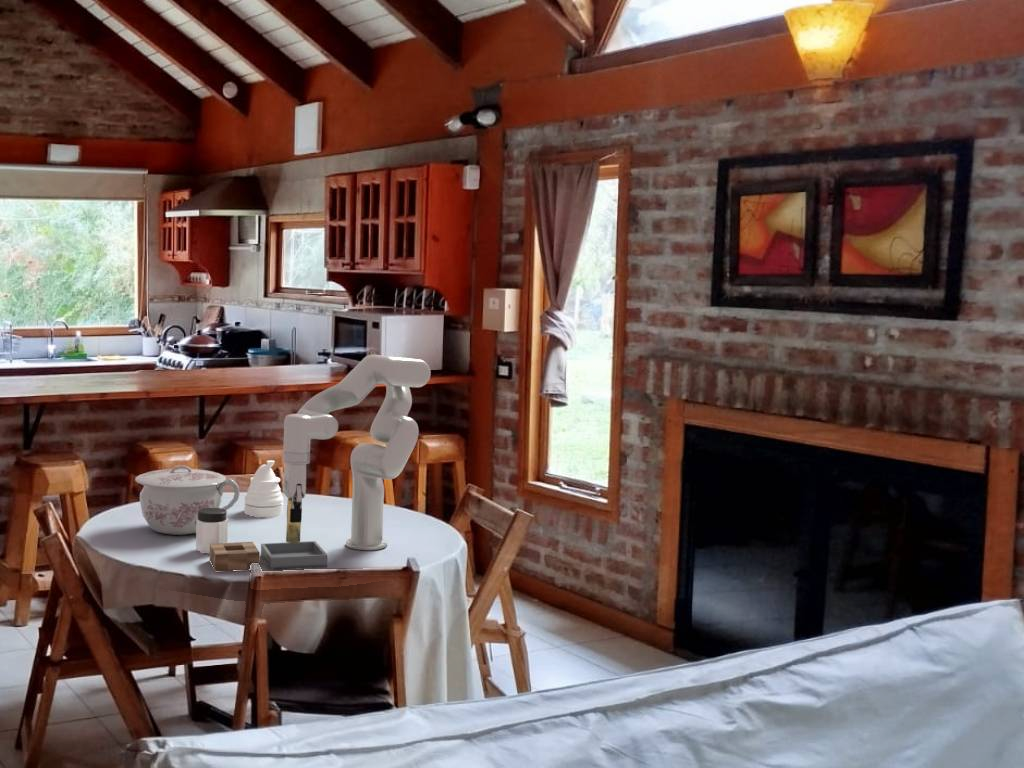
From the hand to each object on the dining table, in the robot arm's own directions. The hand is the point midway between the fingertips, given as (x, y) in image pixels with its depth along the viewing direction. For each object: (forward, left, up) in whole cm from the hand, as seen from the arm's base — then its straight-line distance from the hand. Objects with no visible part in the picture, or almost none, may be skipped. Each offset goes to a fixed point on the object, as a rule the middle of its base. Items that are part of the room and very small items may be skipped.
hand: (293, 519), depth 331 cm
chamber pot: (-42, -27, -12) cm, 51 cm away
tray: (0, 0, -12) cm, 12 cm away
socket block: (+1, -17, -12) cm, 21 cm away
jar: (-16, -21, -12) cm, 29 cm away
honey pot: (-61, +2, -12) cm, 62 cm away
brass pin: (0, 0, -6) cm, 6 cm away
